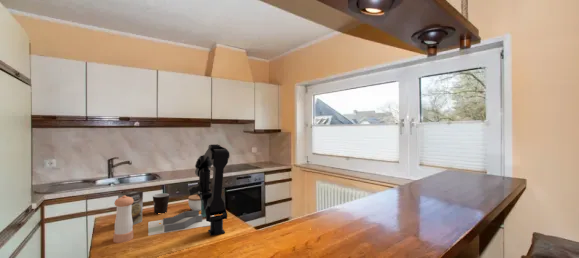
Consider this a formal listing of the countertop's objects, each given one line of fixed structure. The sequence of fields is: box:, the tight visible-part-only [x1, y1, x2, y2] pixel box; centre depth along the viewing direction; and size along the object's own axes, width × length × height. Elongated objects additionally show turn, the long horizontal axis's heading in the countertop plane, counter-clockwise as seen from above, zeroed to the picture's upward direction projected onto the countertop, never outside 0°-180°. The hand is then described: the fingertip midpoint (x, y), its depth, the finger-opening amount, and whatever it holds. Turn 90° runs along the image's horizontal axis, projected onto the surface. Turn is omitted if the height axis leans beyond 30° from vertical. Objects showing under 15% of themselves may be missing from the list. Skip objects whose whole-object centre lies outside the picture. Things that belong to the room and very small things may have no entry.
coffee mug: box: [152, 193, 170, 215], centre depth 143 cm, size 12×9×10 cm
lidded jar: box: [187, 194, 201, 212], centre depth 151 cm, size 11×11×9 cm
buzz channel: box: [147, 210, 215, 236], centre depth 128 cm, size 19×32×4 cm, turn 119°
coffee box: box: [117, 190, 144, 226], centre depth 126 cm, size 9×6×16 cm
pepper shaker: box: [112, 195, 134, 244], centre depth 108 cm, size 7×7×19 cm
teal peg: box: [200, 199, 206, 217], centre depth 136 cm, size 4×4×10 cm
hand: (204, 208), depth 136 cm, fingers closed on teal peg, 4 cm apart
